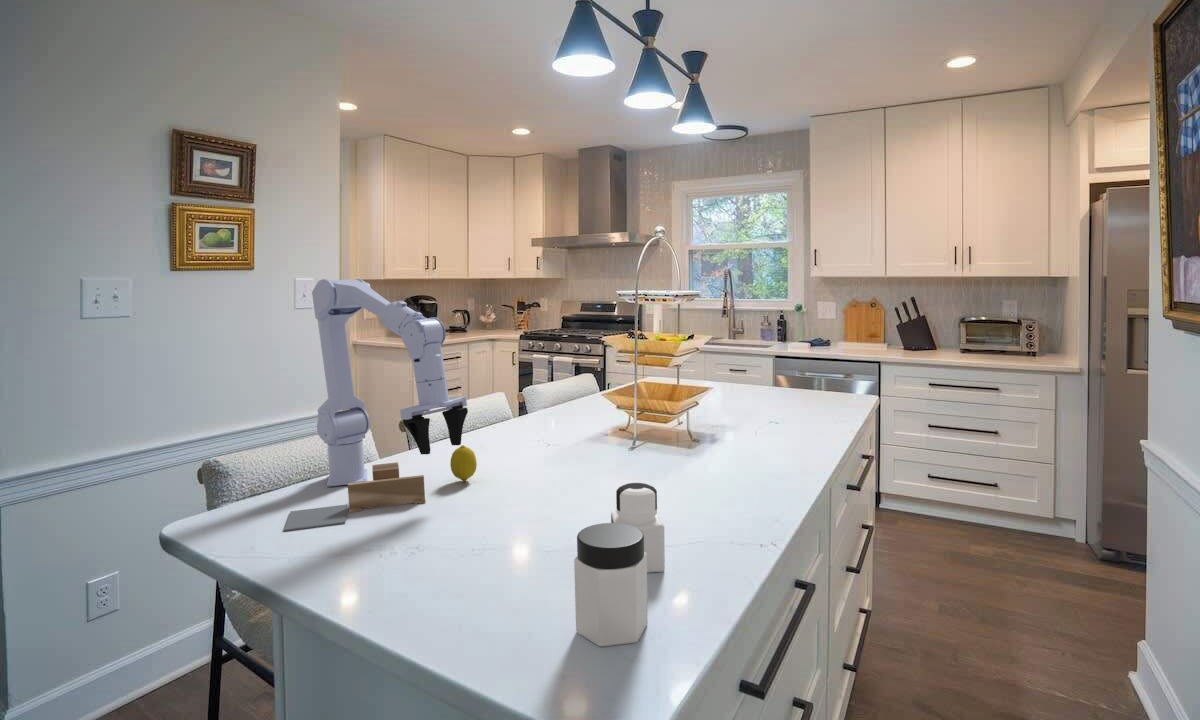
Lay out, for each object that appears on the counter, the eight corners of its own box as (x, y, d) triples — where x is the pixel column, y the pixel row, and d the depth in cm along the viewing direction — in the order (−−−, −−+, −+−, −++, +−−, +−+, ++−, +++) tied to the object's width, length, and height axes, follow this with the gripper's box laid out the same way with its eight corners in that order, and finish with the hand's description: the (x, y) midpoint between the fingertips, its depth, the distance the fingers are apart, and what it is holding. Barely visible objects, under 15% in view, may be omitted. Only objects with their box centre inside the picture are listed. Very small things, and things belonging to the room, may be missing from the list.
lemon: (471, 485, 137) (469, 449, 136) (447, 484, 138) (445, 448, 138) (481, 478, 143) (479, 442, 142) (457, 477, 144) (456, 441, 143)
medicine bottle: (611, 554, 101) (610, 480, 100) (656, 552, 102) (656, 478, 100) (616, 575, 94) (615, 495, 93) (665, 572, 95) (664, 493, 93)
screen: (349, 507, 126) (348, 482, 125) (424, 497, 130) (423, 473, 130) (349, 512, 123) (347, 486, 122) (425, 502, 127) (424, 477, 127)
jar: (639, 608, 85) (638, 519, 83) (656, 641, 77) (655, 544, 75) (571, 615, 83) (569, 525, 82) (581, 650, 75) (578, 551, 74)
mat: (290, 512, 123) (290, 511, 123) (347, 505, 126) (347, 504, 126) (284, 531, 114) (283, 529, 114) (345, 523, 117) (345, 521, 117)
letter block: (374, 493, 134) (372, 464, 133) (399, 490, 136) (397, 462, 135) (374, 500, 129) (372, 471, 129) (400, 497, 131) (398, 468, 130)
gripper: (412, 384, 118) (424, 458, 118) (472, 373, 129) (482, 441, 130) (389, 387, 122) (400, 458, 122) (449, 376, 133) (459, 441, 134)
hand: (441, 449), depth 126 cm, fingers open, 7 cm apart
